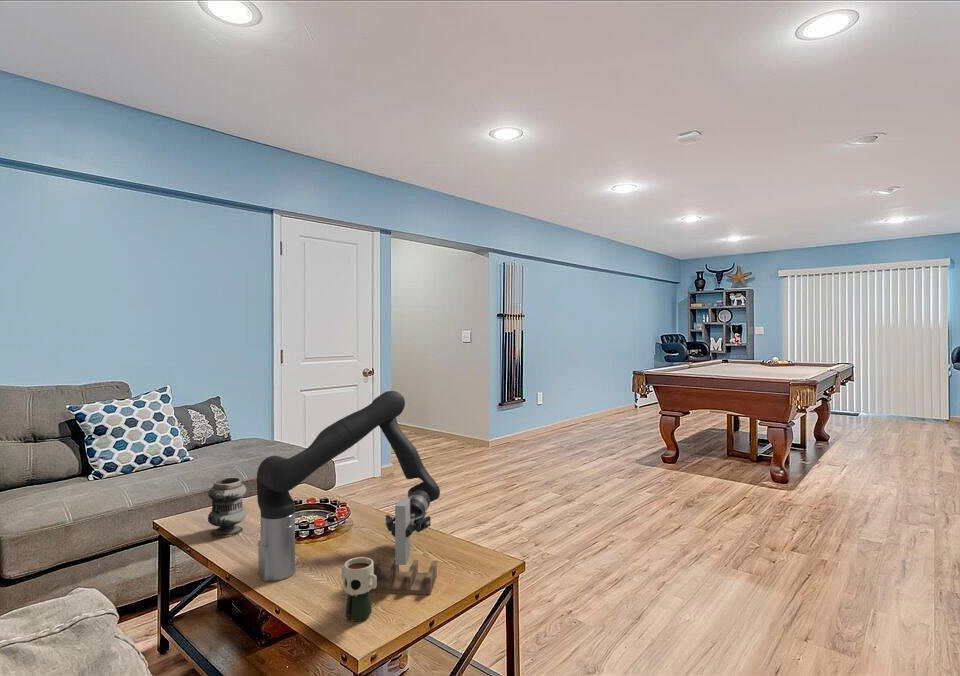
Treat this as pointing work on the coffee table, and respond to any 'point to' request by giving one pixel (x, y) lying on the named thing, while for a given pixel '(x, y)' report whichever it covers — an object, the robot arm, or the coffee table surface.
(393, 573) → the drying rack
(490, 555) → the coffee table surface
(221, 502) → the grey stone urn vase
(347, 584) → the character mug
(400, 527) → the clay strip
